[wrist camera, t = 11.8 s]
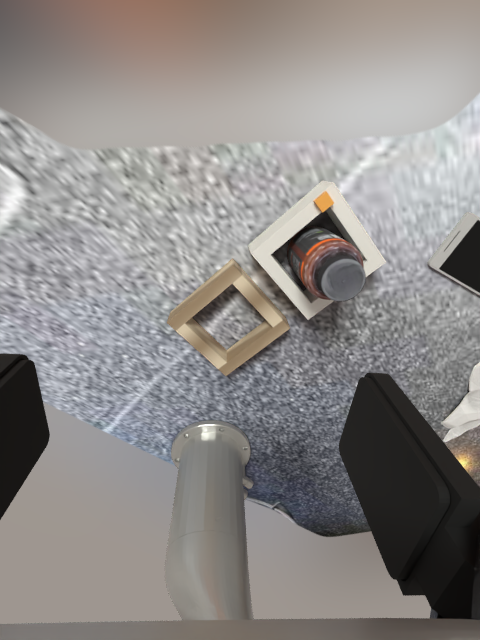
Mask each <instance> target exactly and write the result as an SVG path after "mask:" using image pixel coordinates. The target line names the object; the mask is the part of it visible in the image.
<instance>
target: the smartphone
mask: <svg viewBox="0 0 480 640" xmlns="http://www.w3.org/2000/svg"><path fill="white" fill-rule="evenodd" d="M427 264H428V266H430V267H431V268H433V269H435V270H437V271H438V272H440V273H442V274H443V275H445V276H447V277H449V278H450V279H452V280H454V281H455V282H457V283H459V284H461V285H462V286H464V287H466V288H467V289H469V290H471V291H472V292H474V293H476V294H478V295H479V296H480V218H479V217H478V216H476V215H475V214H473V213H469V212H467V213H465V214H464V216H463V217H462V218H461V219H460V221H459V222H458V223H457V225H456V226H455V227H454V228H453V230H452V231H451V232H450V234H449V235H448V236H447V238H446V239H445V240H444V241H443V243H442V244H441V245H440V247H439V248H438V249H437V250H436V252H435V253H434V254H433V256H432V257H431V258H430V259H429V261H428V262H427Z"/></svg>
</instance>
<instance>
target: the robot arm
mask: <svg viewBox="0 0 480 640" xmlns="http://www.w3.org/2000/svg"><path fill="white" fill-rule="evenodd" d="M49 435H50V434H49V428H48V424H47V419H46V415H45V410H44V406H43V401H42V396H41V392H40V387H39V382H38V378H37V373H36V369H35V365H34V362H33V361H31V360H28V358H27V356H26V355H22V354H0V519H1V517H2V516H3V515H4V513H5V511H6V510H7V508H8V507H9V505H10V503H11V502H12V500H13V499H14V497H15V495H16V494H17V492H18V491H19V489H20V488H21V486H22V484H23V483H24V481H25V480H26V478H27V476H28V475H29V473H30V472H31V470H32V468H33V467H34V465H35V464H36V462H37V461H38V459H39V457H40V456H41V454H42V453H43V451H44V449H45V448H46V446H47V444H48V441H49ZM339 451H340V455H341V458H342V460H343V463H344V465H345V468H346V470H347V472H348V475H349V477H350V480H351V482H352V485H353V487H354V490H355V492H356V495H357V497H358V499H359V502H360V504H361V507H362V509H363V512H364V514H365V517H366V519H367V522H368V524H369V526H370V529H371V531H372V534H373V536H374V539H375V541H376V544H377V546H378V549H379V551H380V553H381V555H382V558H383V561H384V563H385V566H386V568H387V570H388V572H389V574H390V576H391V577H392V578H393V579H396V580H397V581H398V584H399V586H400V589H401V591H402V593H403V595H425V596H426V598H427V600H428V602H429V604H430V606H431V614H430V619H418V618H417V619H415V618H354V619H353V618H352V619H351V618H349V619H256V620H255V619H254V618H253V612H252V604H251V595H250V584H249V572H248V557H247V542H246V525H245V509H244V500H245V499H246V498H247V495H248V492H247V490H246V489H244V488H243V485H244V486H245V487H247V488H248V489H251V488H252V486H253V481H252V480H251V479H250V478H248V477H246V476H245V466H246V464H247V463H248V461H249V458H250V443H249V440H248V438H247V436H246V435H245V434H244V432H243V431H241V430H240V429H239V428H238V427H236V426H234V425H232V424H229V423H227V422H222V421H215V420H208V421H200V422H197V423H193V424H191V425H189V426H187V427H185V428H184V429H182V430H181V431H180V432H179V433H178V434H177V436H176V437H175V439H174V441H173V444H172V449H171V457H172V460H173V462H174V464H175V466H176V467H177V468H178V469H179V470H178V477H177V483H176V490H175V497H174V504H173V512H172V518H171V526H170V532H169V539H168V546H167V552H166V560H165V581H166V586H167V589H168V592H169V595H170V597H171V599H172V602H173V603H174V605H175V607H176V609H177V611H178V613H179V614H180V616H181V618H182V621H134V622H133V621H129V622H77V623H76V622H74V623H30V624H29V623H28V624H0V640H480V488H479V486H478V485H477V484H476V483H475V481H474V480H473V479H472V478H471V476H470V475H469V474H468V473H467V471H466V470H465V469H464V468H463V466H462V465H461V464H460V463H459V461H458V460H457V459H456V458H455V456H454V455H453V454H452V453H451V451H450V450H449V449H448V448H447V446H446V445H445V444H444V443H443V441H442V440H441V439H440V438H439V436H438V435H437V434H436V433H435V431H434V430H433V429H432V428H431V426H430V425H429V424H428V423H427V421H426V420H425V419H424V418H423V416H422V415H421V414H420V413H419V411H418V410H417V409H416V408H415V406H414V405H413V404H412V403H411V401H410V400H409V399H408V398H407V396H406V395H405V394H404V392H403V391H402V390H401V389H400V387H399V386H398V385H397V384H396V382H395V381H394V380H393V379H392V377H391V376H390V375H389V374H382V373H367V374H366V375H365V377H362V378H360V379H359V382H358V385H357V388H356V391H355V394H354V398H353V401H352V404H351V407H350V410H349V414H348V417H347V420H346V423H345V426H344V429H343V433H342V436H341V439H340V443H339Z"/></svg>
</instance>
